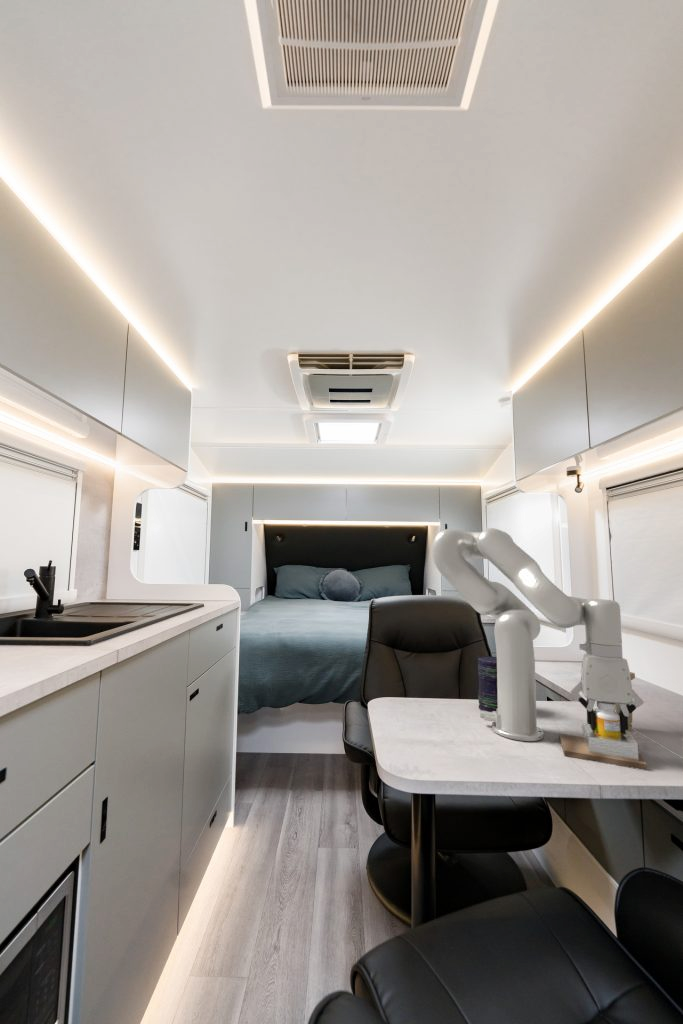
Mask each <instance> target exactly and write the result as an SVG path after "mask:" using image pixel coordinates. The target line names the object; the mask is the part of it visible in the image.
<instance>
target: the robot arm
mask: <svg viewBox="0 0 683 1024" xmlns="http://www.w3.org/2000/svg"><path fill="white" fill-rule="evenodd" d="M431 554H432V559H433V562H434V564H435V567H436V569H437V570H438V572H439V573H440V574H441V575H442V576H443V578H444V579H445V580H446V581H447V582H449V584H450V585H452V587H453V588H454V589H455V591H456V592H458V593H459V594H460V596H461V597H462V598H463V599H464V600H465V601H466V602H467V603H468V604H469V605H470V606H471V607H472V608H473V609H474V611H476V612H477V613H478V614H480V615H484V616H491V617H492V618H493V619H494V620H495V623H494V629H493V631H494V632H493V633H494V641H495V648H496V649H495V650H496V657H497V702H498V708H497V710H496V711H493V712H487V711H482V710H480V709H479V710H480V715H479V717H480V719H484V721H488V722H492V723H491V730H492V731H493V732H494V733H496V734H497V735H499V736H501V737H504V738H507V739H510V740H516V741H523V742H537V741H540V740H542V739H543V738H544V731H543V729H541V728H540V727H538V725H537V693H536V692H537V689H536V688H537V687H536V684H537V683H536V661H535V660H536V659H535V650H534V640H535V639H536V638H538V636H539V635H540V632H541V621H540V620H539V617H538V616H537V615H536V614H535V612H533V611H532V610H531V609H530V607H528V606H527V605H526V604H525V603H524V602H523V601H522V600H521V599H520V598H519V597H518V596H516V595H515V593H514V592H513V591H511V590H510V589H509V588H508V587H507V586H505V585H504V584H502V583H500V582H497V581H492V580H489V579H487V577H485V576H484V575H483V574H482V573H481V572H480V571H479V570H478V569H477V568H476V567H475V566H474V565H473V564H471V563H470V562H469V561H468V560H467V559H470V560H471V559H473V560H475V559H476V560H477V559H478V560H488V561H489V562H490V563H491V564H492V565H493V566H494V567H495V568H496V569H497V570H498V571H500V572H501V574H503V575H504V576H505V577H506V578H507V580H509V581H510V582H511V583H512V584H513V585H514V586H515V588H516V589H517V590H518V591H519V592H520V593H521V594H522V595H523V596H524V598H525V599H527V601H528V602H529V603H530V604H531V605H532V606H533V607H534V608H535V609H536V610H537V611H538V612H539V613H541V614H542V616H544V617H545V619H547V620H548V621H549V622H551V623H552V624H553V625H554V626H557V627H559V628H562V629H571V628H573V627H577V626H584V627H585V628H584V629H585V630H584V631H585V641H584V643H579V650H581V651H585V654H583V655H582V656H583V657H582V661H581V663H582V664H581V670H580V671H581V674H580V681H579V682H578V683H577V684H576V685H575V686H574V687H573V688H572V689H571V690H570V694H571V695H572V696H573V698H575V699H576V700H577V701H578V702H579V703H580V704H581V705H582V706H583V707H584V708H585V709H586V722H587V723H586V724H588V725H590V726H591V728H592V729H593V730H595V729H596V725H595V712H594V711H595V709H594V706H595V703H596V702H597V701H603V702H610V703H618V705H619V708H620V712H619V713H618V714H619V715H620V722H621V733H622V734H626V731H625V730H627V731H629V730H628V716H629V714H630V713H633V712H635V710H636V709H638V708H639V707H641V706H642V705H644V703H645V702H644V701H643V699H642V698H641V696H639V695H638V693H636V691H634V690H633V686H632V685H633V684H632V680H631V677H630V672H631V671H630V666H629V663H628V659H626V658H625V657H624V656H623V639H622V618H621V617H622V616H621V615H622V614H621V606H620V604H619V602H617V601H616V600H612V599H604V598H603V599H602V598H590V599H589V598H580V597H575V596H569V595H567V594H566V593H565V592H564V591H562V590H561V589H560V588H559V587H558V586H556V585H555V584H554V583H553V582H552V581H551V580H550V579H549V578H548V577H547V576H546V574H545V573H544V572H543V571H542V569H541V566H540V565H539V564H538V562H537V561H536V560H535V559H534V558H533V557H532V556H531V555H529V554H528V553H527V552H526V551H525V550H523V549H522V547H520V546H519V545H517V544H516V542H515V541H514V540H513V538H512V536H511V535H510V534H508V532H506V531H503V530H500V529H498V528H492V527H491V528H486V529H483V530H482V531H480V532H479V531H476V532H475V531H472V532H471V531H462V530H459V529H455V528H446V529H442V530H441V531H439V532H438V533H437V534H436V536H435V537H434V539H433V542H432V547H431ZM580 692H581V693H582V694H583V696H584V697H585V698H586V699H585V698H584V697H583V696H582V695H580ZM626 704H628V705H626Z"/></svg>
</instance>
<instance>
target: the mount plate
mask: <svg viewBox="0 0 683 1024" xmlns="http://www.w3.org/2000/svg"><path fill="white" fill-rule="evenodd" d="M558 739H559V743H560V745H561V749H562V752H563V755H564V757H568V758H574V759H579V760H585V761H586V760H587V761H590V760H591V761H592V762H596V761H597V763H602V762H603V763H602V764H608V763H609V764H610V765H613V764H616V765H615V766H619V765H620V767H625V766H628V767H627V768H631V767H633V769H636V768H638V769H637V770H642V769H643V770H644V771H648V764H647V763H646V761H645V760H644V758H643V757H642V756H641V754H640V753H639V752H638V760H639V761H635V760H629V759H623V758H617V757H611V756H605V755H600V754H594V753H589V751H588V749H587V746H586V744H585V742H584V740H583V736H579V735H575V734H574V735H573V734H567V733H566V734H565V733H560V732H559V733H558ZM591 761H590V762H591Z"/></svg>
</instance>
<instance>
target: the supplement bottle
mask: <svg viewBox="0 0 683 1024" xmlns="http://www.w3.org/2000/svg"><path fill="white" fill-rule="evenodd" d="M596 707H597V708H595V709H594V712H595V725H596V729H595V730H594V733H595V736H601V737H608V738H614V739H621V722H620V715H619V714H618V713H617V712H616V709H617V708H616V703H610V702H603V701H596Z"/></svg>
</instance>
